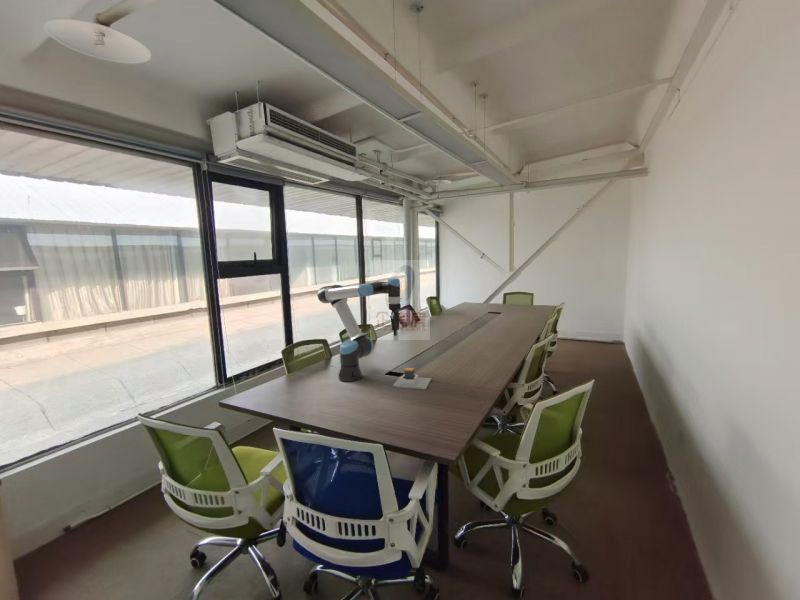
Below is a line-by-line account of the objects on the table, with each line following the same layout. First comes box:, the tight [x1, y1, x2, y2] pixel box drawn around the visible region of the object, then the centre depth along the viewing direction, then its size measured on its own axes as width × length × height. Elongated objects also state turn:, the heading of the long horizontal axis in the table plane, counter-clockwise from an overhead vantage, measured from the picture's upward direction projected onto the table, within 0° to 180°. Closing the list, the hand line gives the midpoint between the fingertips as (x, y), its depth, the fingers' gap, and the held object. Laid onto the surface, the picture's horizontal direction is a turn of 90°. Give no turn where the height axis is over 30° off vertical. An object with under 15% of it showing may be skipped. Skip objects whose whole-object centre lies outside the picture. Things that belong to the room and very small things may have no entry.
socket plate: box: [392, 373, 432, 390], centre depth 203 cm, size 20×16×4 cm
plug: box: [403, 367, 415, 379], centre depth 203 cm, size 5×4×8 cm
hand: (396, 340), depth 212 cm, fingers closed
